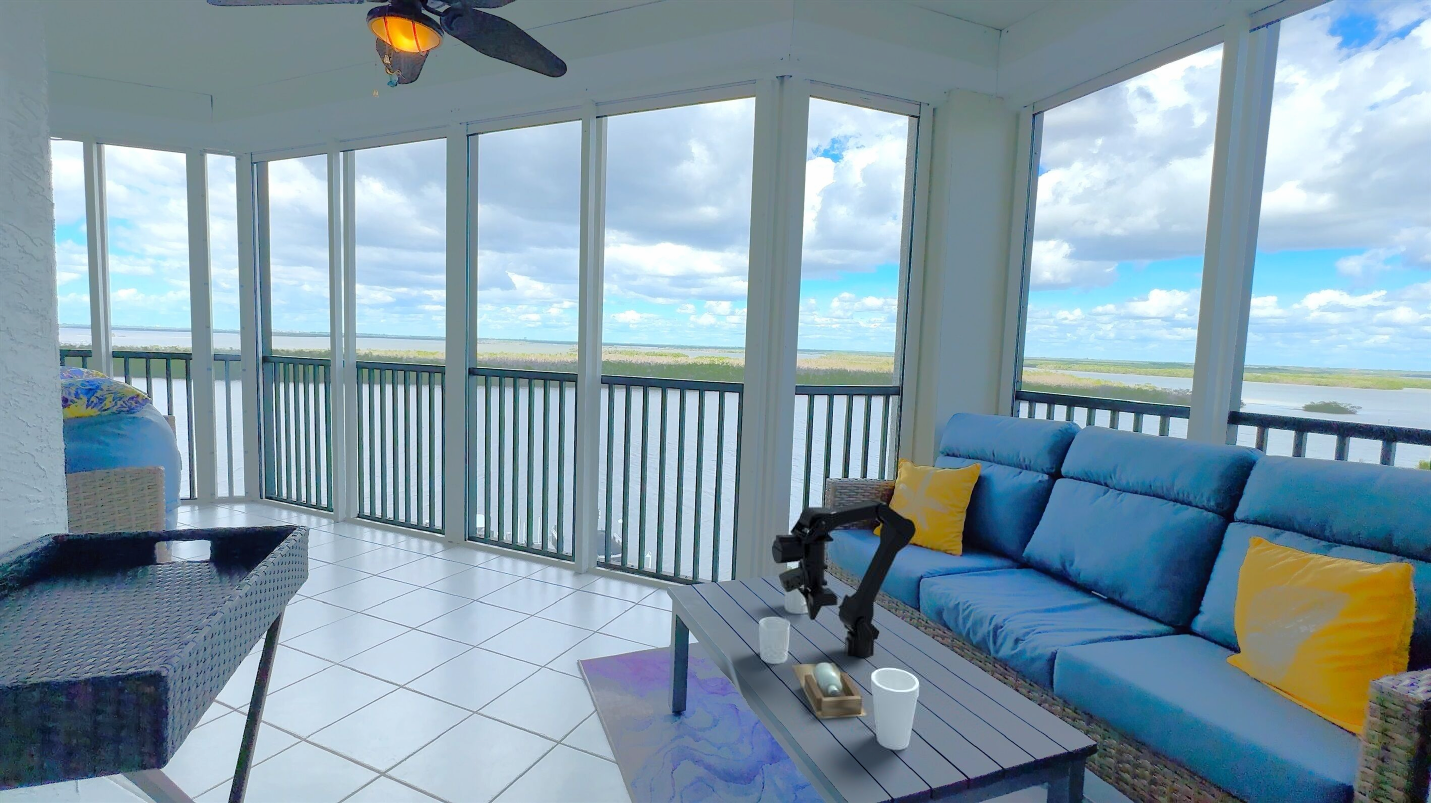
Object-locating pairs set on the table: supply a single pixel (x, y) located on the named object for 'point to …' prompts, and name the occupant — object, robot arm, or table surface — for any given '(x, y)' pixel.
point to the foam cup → (894, 706)
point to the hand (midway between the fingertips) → (812, 619)
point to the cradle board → (830, 706)
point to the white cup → (774, 639)
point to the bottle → (827, 680)
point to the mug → (795, 602)
